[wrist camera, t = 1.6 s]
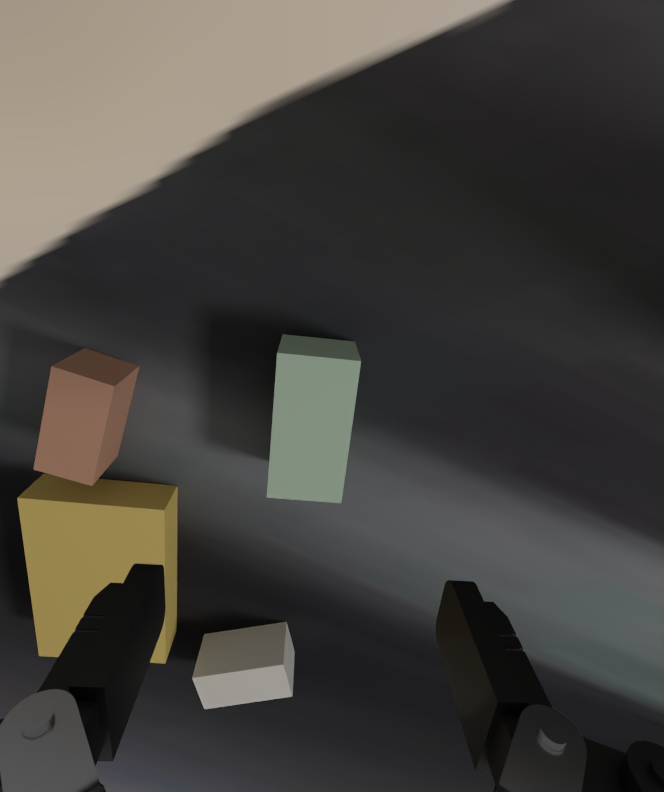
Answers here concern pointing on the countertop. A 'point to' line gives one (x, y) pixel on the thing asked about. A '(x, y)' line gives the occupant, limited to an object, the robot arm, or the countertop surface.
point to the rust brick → (84, 415)
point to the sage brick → (312, 418)
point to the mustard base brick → (94, 549)
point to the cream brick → (245, 666)
